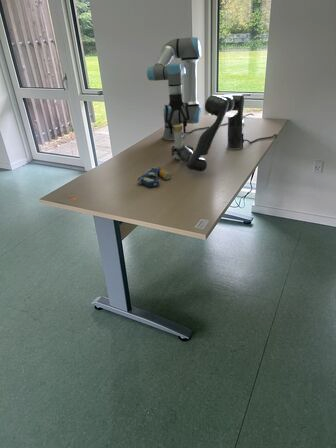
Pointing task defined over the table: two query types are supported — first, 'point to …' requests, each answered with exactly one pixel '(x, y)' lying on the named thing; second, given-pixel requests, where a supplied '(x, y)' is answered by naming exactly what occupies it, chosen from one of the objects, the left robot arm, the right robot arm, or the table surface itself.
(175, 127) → the lid
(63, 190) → the table surface
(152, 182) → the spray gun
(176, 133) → the white cylinder
